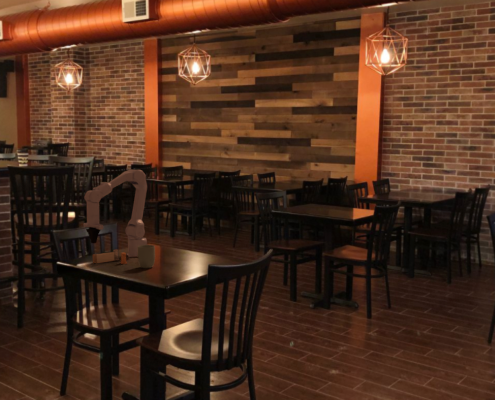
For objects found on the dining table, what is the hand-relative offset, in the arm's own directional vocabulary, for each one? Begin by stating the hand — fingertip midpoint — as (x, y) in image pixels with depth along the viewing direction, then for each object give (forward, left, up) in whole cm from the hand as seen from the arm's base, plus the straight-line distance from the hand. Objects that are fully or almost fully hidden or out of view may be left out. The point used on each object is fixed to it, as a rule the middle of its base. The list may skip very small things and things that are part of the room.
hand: (93, 243), depth 287 cm
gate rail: (-4, +3, -9) cm, 10 cm away
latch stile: (-13, +11, -9) cm, 19 cm away
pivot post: (-11, 0, -9) cm, 14 cm away
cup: (-21, +25, -9) cm, 34 cm away
